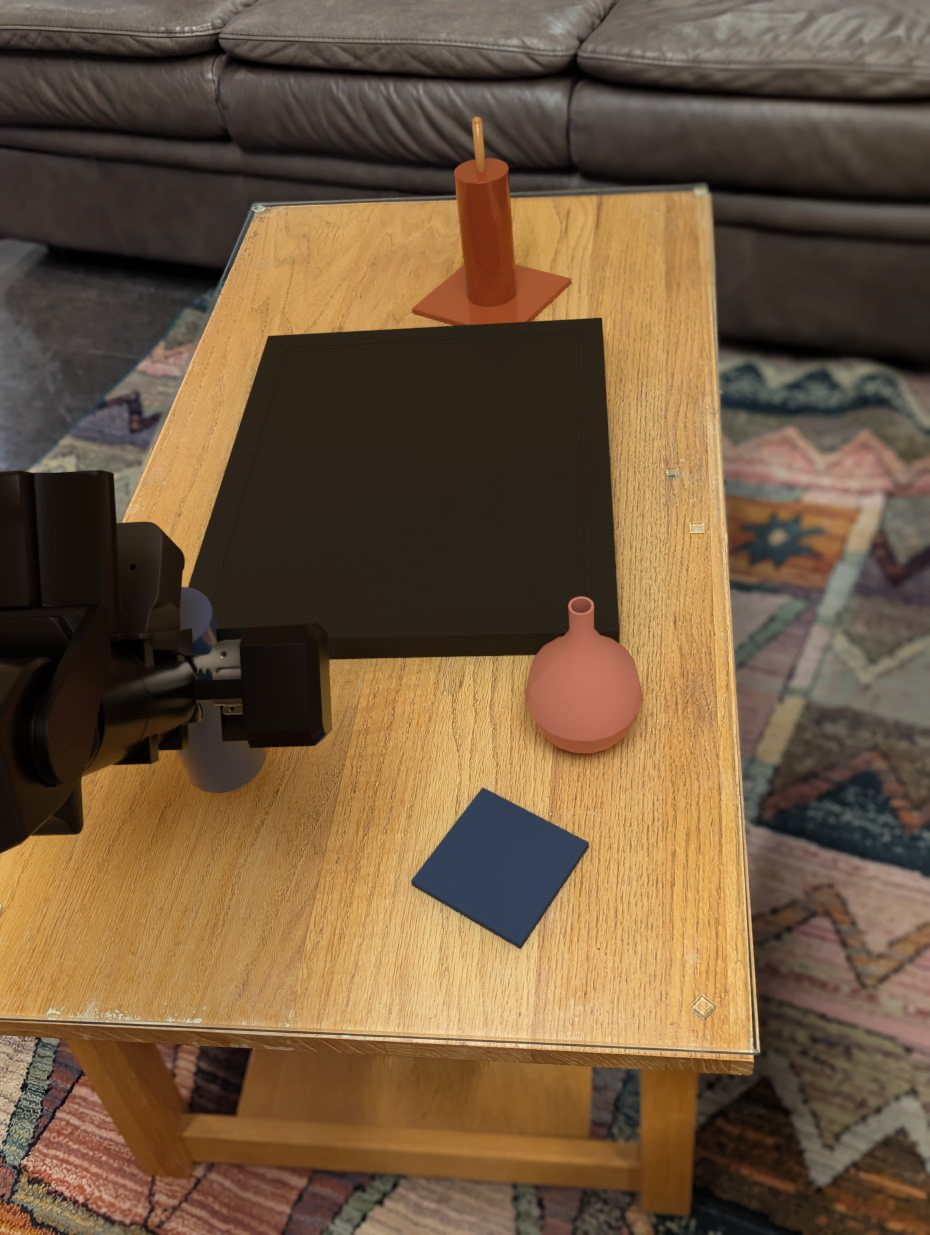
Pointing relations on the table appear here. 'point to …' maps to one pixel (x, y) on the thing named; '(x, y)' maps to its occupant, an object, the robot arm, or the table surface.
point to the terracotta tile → (524, 307)
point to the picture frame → (420, 490)
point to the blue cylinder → (212, 716)
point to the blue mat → (500, 866)
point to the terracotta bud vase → (583, 686)
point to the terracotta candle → (486, 226)
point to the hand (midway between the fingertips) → (202, 675)
